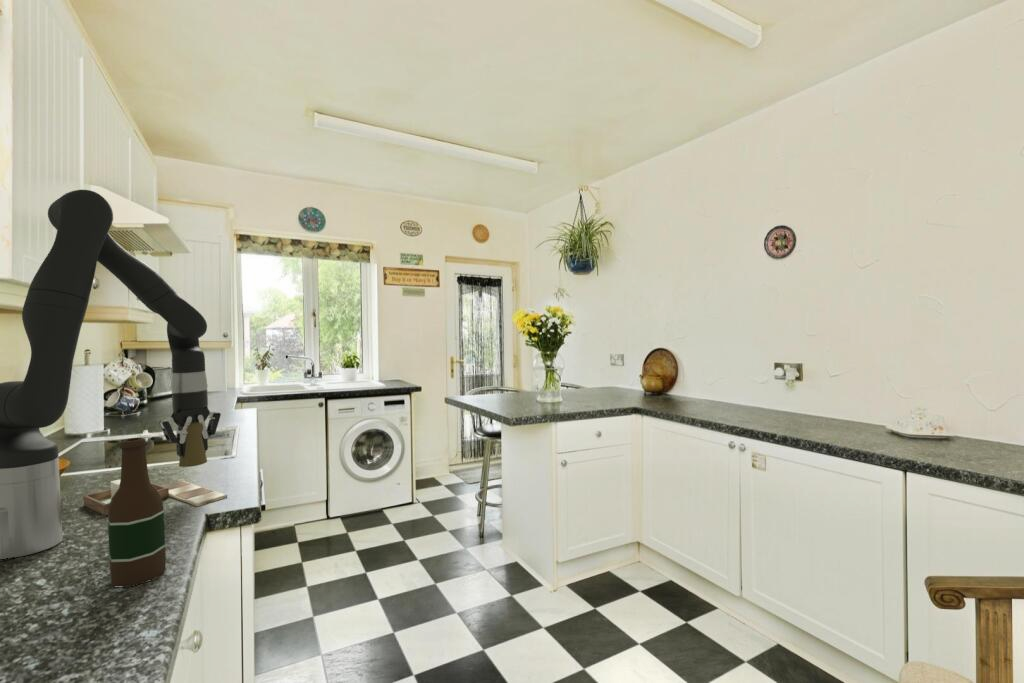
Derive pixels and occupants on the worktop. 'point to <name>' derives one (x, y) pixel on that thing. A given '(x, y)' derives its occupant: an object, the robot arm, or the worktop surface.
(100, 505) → the dice tray
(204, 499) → the board
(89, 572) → the worktop surface
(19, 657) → the worktop surface
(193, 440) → the cork
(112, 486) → the die
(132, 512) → the beer bottle
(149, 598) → the worktop surface
